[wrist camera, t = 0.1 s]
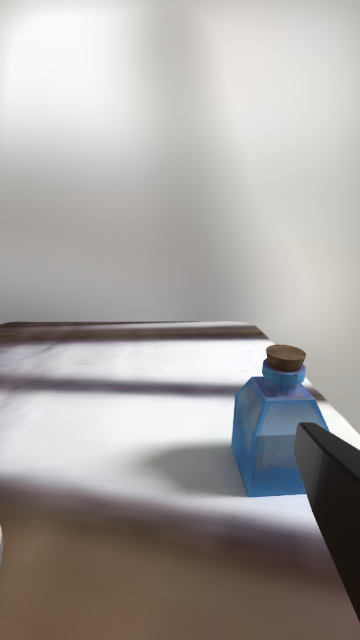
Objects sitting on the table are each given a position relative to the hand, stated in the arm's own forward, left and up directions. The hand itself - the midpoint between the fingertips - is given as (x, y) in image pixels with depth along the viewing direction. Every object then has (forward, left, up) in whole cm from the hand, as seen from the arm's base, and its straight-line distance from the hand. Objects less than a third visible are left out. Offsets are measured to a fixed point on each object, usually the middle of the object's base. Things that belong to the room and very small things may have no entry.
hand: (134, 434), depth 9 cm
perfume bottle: (+17, -10, -17) cm, 26 cm away
